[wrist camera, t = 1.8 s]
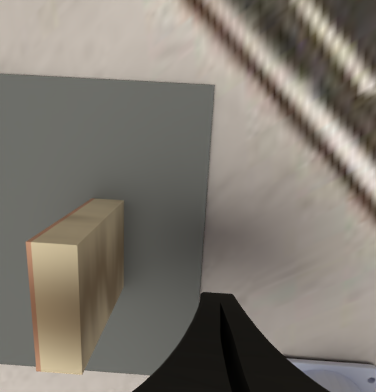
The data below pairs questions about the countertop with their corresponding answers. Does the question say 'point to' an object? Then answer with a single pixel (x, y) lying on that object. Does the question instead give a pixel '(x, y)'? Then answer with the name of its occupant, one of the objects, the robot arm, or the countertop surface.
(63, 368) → the tile
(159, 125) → the mat
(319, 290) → the countertop surface
